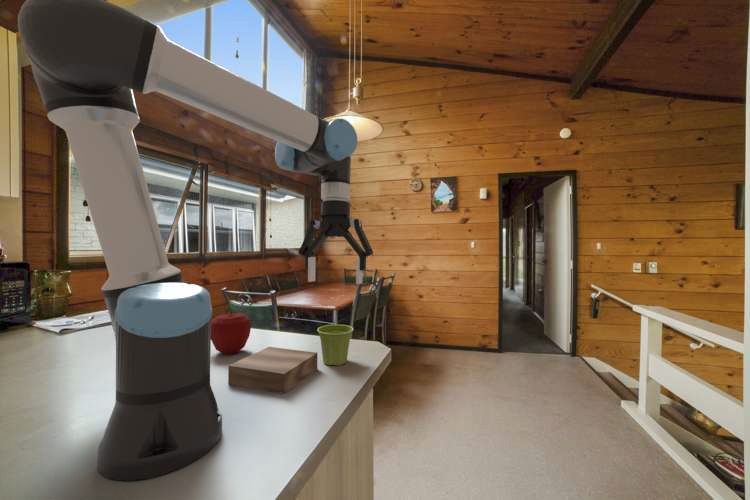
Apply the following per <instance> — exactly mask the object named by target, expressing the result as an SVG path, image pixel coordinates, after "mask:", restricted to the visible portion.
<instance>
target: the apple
mask: <svg viewBox="0 0 750 500" xmlns="http://www.w3.org/2000/svg"><path fill="white" fill-rule="evenodd" d="M251 329H252V323H251V320H250V318H249V316H248V315H246V314H245V313H243V312H235V313H233V312H232V311H230V313H226V314H221V315H220V314H219V315H218V316H216V317H214V318H213V319H211V343H212V345H213V346H214V349H215V351H216V352H219V353H222V354H223V355H234V354H238V353H239V352H241V350H243V349H244V348H245V346H246V344H247V342H248V340H249V338H250V334H251Z"/></svg>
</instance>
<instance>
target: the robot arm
mask: <svg viewBox="0 0 750 500" xmlns="http://www.w3.org/2000/svg"><path fill="white" fill-rule="evenodd" d="M17 28H18V29H17V30H18V34H19V38H20V41H21V42H22V45H23V47H24V50H25V52H26V55H27V58H28V60H29V63H30V66H31V71H32V74H33V79H34V81H35V83H36V85H37V88H38V92H39V94H40V97H41V100H42V104H43V107H44V110H45V112H46V116H47V118H48V121H50V122H51V123H53V124H54V125H56V126H58V127H59V128H60V129H63V130H64V132H65V134H66V137H67V141H68V145H69V146H70V147H69V148H70V151H71V154H72V157H73V161H74V164H75V167H76V171H77V174H78V176H79V179H80V183H81V186H82V190H83V193H84V196H85V200H86V203H87V206H88V210H89V212H90V216H91V219H92V222H93V226H94V229H95V232H96V236H97V238H98V243H99V246H100V248H101V252H102V255H103V258H104V262H105V265H106V267H107V268H106V269H107V271H108V275H109V276H108V278H107V279H106V281H105V282H104V283H103V284H102V286H101V292H102V294H103V298H104V302H105V304H106V308H107V311H108V314H109V318H110V322H111V327H112V329H113V332H114V337H115V339H114V340H115V402H114V403H115V404H114V407H113V410H112V412H111V414H110V417H109V419H108V422H107V425H106V428H105V430H104V434H103V437H102V439H101V441H100V442H99V445H98V449H97V469H98V472H99V473H100V474H101V475H102V476H103V477H105V478H108V479H112V480H116V481H137V480H145V479H150V478H154V477H158V476H162V475H165V474H169V473H171V472H175V471H176V470H179V469H182V468H183V467H185V466H188V465H189V464H191V463H194V462H195V461H196V460H198V459H200V458H201V457H203V456H204V455H206V454H207V453H208V452H209V451H211V449H213V448H214V447H215V446H216V445H217V444H218V442H219V440H220V439H221V437H222V433H223V418H222V417H223V416H222V412H221V411H220V409H219V407H218V403H217V402H218V401H217V399H216V397H215V394H214V391H213V388H212V385H211V354H212V353H211V350H212V349H211V347H212V346H211V343H212V341H211V321H212V315H213V307H212V301H211V300H212V299H211V295H210V292H209V291H208V290H207V289H206V288H205V287H203V286H200V285H197V284H193V283H192V284H191V283H190V284H188V283H185V282H184V277H183V275H182V271H181V269H180V268H178V267H176V266H174V265H172V264H171V263H169V260H168V256H167V251H166V249H165V245H164V241H163V238H162V233H161V231H160V227H159V223H158V220H157V219H158V218H157V216H156V212H155V209H154V205H153V202H152V197H151V194H150V190H149V187H148V183H147V179H146V176H145V172H144V170H143V165H142V161H141V158H140V154H139V151H138V147H137V144H136V139H135V136H134V133H133V130H134V129H135V128H136V127H137V125H138V124H139V123H140V122H141V120H140V116H139V111H138V107H137V104H136V100H135V95H134V92H133V91H136V92H138V93H140V94H144V95H146V94H149V93H152V92H156V93H159V94H162V95H164V96H166V97H169V98H171V99H174V100H177V101H178V102H180V103H181V102H182V103H183V104H186V105H188V106H192V107H193V108H195V109H198V110H201V111H203V112H206V113H209V114H210V115H213V116H215V117H218V118H220V119H222V120H225V121H227V122H229V123H233V124H235V125H238V126H240V127H243V129H247V130H249V131H252V132H254V133H257V134H258V135H261V136H264V137H267V138H269V139H271V140H274V141H276V142H277V143H276V145H275V151H274V158H275V163H276V165H277V166H278V168H280V169H282V170H285V171H289V172H292V173H293V172H295V173H300V174H307V175H312V176H317V177H320V179H321V180H320V181H321V182H320V184H321V187H320V188H321V191H320V193H321V194H320V199H321V200H322V201H321V203H320V215H321V219H320V220H315V219H311V220H310V221H309V227H308V230H307V232H306V235H304V236H305V237H304V239H303V241H302V244H301V245H300V248H299V250H298V254H299V255H302V256H304V257H305V258H304V259H305V269H307V282H309V283H312V282H316V260H317V259H316V256H314V255H315V253H316V252H317V251H318V250H319V248H320V247H321V246H322V245H323V243H324V242H325V241H326V239H328V238H335V237H338V238H344V239H345V240H346V241H347V242H348V244H349V245H350V246H351V248H353V250H354V252H355V253H356V254H357V256H358V257H356V258H355V261H356V262H355V284H356V285H360V284H363V277H364V276H363V273H364V271H366V269H367V259H368V257H369V256H373V255H374V251H373V249H372V246H371V244H370V242H369V240H368V237H367V235H366V233H365V232H364V229H363V225H362V220H361V219H358V218H355V219H353V220H351V218H350V216H351V204H350V202H349V201H350V200H351V162H352V156H351V155H352V154H354V152H355V151H356V149H357V146H358V135H357V132H356V129H355V127H354V125H352V124H351V122H349V121H348V120H346V119H344V118H335V119H330V120H329V121H327V120H325V118H324V119H323V118H322V117H319V116H317V115H315V114H314V113H312V112H310V111H308V110H305V109H304V108H302V107H300V106H298V105H296V104H295V103H292V102H290V101H289V100H286V99H284V98H282V97H280V96H278V95H277V94H274V93H273V92H271V91H269V90H267V89H265V88H263V87H261V86H260V85H257V84H255V83H253V82H251V81H249V80H247V79H245V78H244V77H242V76H240V75H238V74H236V73H234V72H232V71H230V70H228V69H227V68H224V67H222V66H221V65H218V64H216V63H215V62H213V61H210V60H208V59H206V58H205V57H203V56H201V55H199V54H197V53H195V52H194V51H192V50H190V49H189V48H188V49H187V48H185V47H183V46H181V45H179V44H178V43H175V42H174V41H172V40H170V39H168V37H167V36H166V35H165V33H164V31H163V30H162V28H161V27H160V25H158V24H155V23H154V22H151V21H150V20H148V19H146V18H144V17H142V16H140V15H138V14H136V13H135V12H132V11H130V10H128V9H126V8H124V7H121V6H120V5H117V4H114V3H113V2H112V3H111V2H109V1H106V0H25V1H24V3H22V5H21V8H20V10H19V12H18V15H17ZM351 226H352V228H353V229H354V230H355V233H356V236H357V237H358V239H359V241H360V244H361V245H360V244H359V243H358V241H357V240H356V239H355V237H353V235H352V233H351V232H350V230H349V229H350V228H351ZM320 228H321V231H320V232H319V233H318V236H317V237H316V238H315V236H316V234H317V231H318V229H320ZM314 238H315V240H314Z"/></svg>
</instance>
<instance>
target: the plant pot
mask: <svg viewBox="0 0 750 500" xmlns="http://www.w3.org/2000/svg"><path fill="white" fill-rule="evenodd" d="M316 331H317V332H318V336H319V338H320V345H321V354H322V355H321V356H322V363H323V364H324V365H327V366H332V365H335V366H341V365H344V364H346V362H347V360H348V355H349V347H350V341H351V340H350V339H351V337H352V333H353V332H354V327H352V326H350V325H346V324H327V325H322V326H320V327H317V330H316Z"/></svg>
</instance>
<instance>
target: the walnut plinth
mask: <svg viewBox="0 0 750 500" xmlns="http://www.w3.org/2000/svg"><path fill="white" fill-rule="evenodd" d="M227 367H228V369H227V370H228V373H227V374H228V378H227V380H228V381H227V384H228V385H233V386H237V387H238V386H239V387H244V388H250V389H255V390H261V391H268V392H273V393H279V394H286V393H287V392H288V391H290V390H291V389H292V388H294V387H295V386H296V385H298V384H299V383H300V382H302V381H303V380H304V379H306V378H307V377H309V376H310V375H311V374H312V373H314V372H315V371H317V370H318V352H315V351H309V350H307V351H306V350H298V349H290V348H282V347H274V346H273V347H272V346H268V347H266V348H263V349H261V350H259V351H257V352H255V353H253V354H249V355H247V356H246V357H244V358H242V359H240V360H237V361H236V362H233V363H231V364H229V365H228V366H227ZM316 369H317V370H316Z"/></svg>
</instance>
